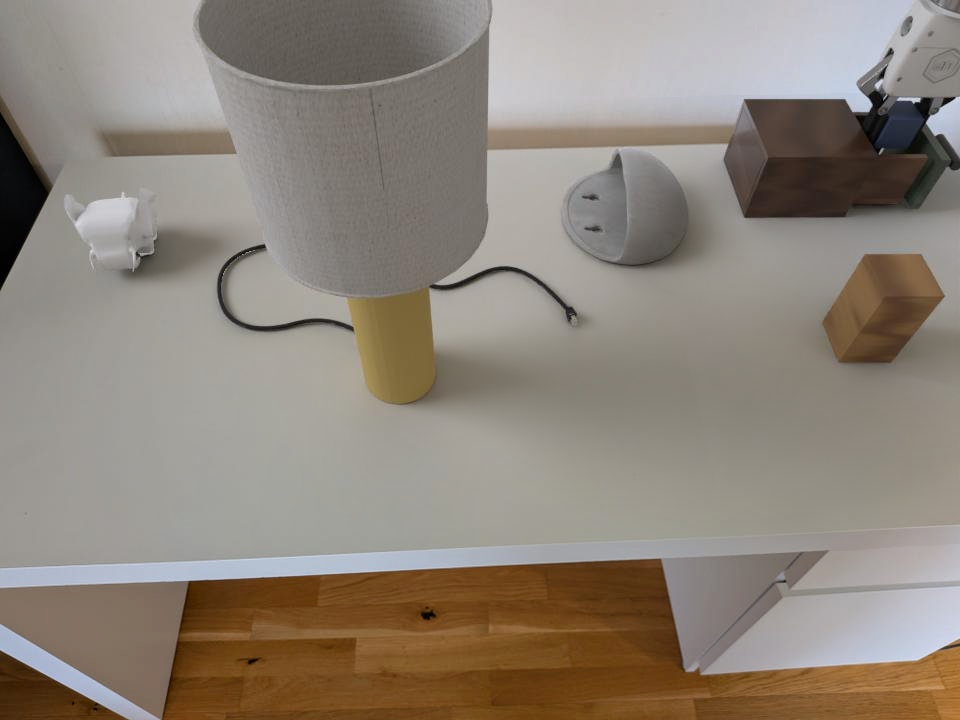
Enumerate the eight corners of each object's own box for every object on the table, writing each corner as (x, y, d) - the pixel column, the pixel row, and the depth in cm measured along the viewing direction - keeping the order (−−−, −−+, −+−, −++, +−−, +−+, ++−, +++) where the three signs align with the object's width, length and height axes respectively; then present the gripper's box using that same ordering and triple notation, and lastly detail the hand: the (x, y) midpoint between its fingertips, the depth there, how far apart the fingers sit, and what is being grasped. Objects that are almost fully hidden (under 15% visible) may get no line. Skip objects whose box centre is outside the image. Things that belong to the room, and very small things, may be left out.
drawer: (917, 156, 97) (947, 107, 91) (950, 209, 91) (985, 160, 84) (800, 156, 97) (823, 107, 91) (825, 209, 90) (851, 160, 84)
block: (895, 129, 90) (911, 100, 86) (907, 148, 87) (924, 119, 84) (863, 129, 90) (878, 100, 86) (875, 148, 87) (891, 119, 84)
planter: (712, 226, 79) (571, 222, 79) (695, 270, 85) (564, 266, 85) (687, 129, 90) (564, 126, 91) (674, 174, 96) (559, 171, 96)
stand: (872, 321, 80) (921, 253, 71) (891, 362, 76) (945, 296, 67) (821, 321, 80) (864, 253, 71) (838, 362, 76) (885, 296, 67)
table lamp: (230, 491, 66) (1, 139, 34) (215, 255, 86) (61, -109, 54) (613, 400, 73) (720, 34, 41) (519, 200, 92) (542, -153, 60)
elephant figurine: (82, 292, 82) (45, 237, 75) (101, 225, 89) (69, 169, 82) (164, 284, 83) (134, 229, 76) (176, 218, 90) (150, 163, 83)
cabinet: (816, 159, 98) (845, 98, 91) (845, 217, 91) (879, 157, 83) (723, 159, 98) (743, 98, 91) (743, 217, 91) (768, 157, 83)
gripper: (904, 7, 71) (831, 154, 86) (1063, 8, 71) (963, 154, 86) (879, -26, 76) (813, 119, 90) (1028, -25, 76) (938, 120, 91)
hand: (887, 135), depth 88 cm, fingers closed on block, 4 cm apart
